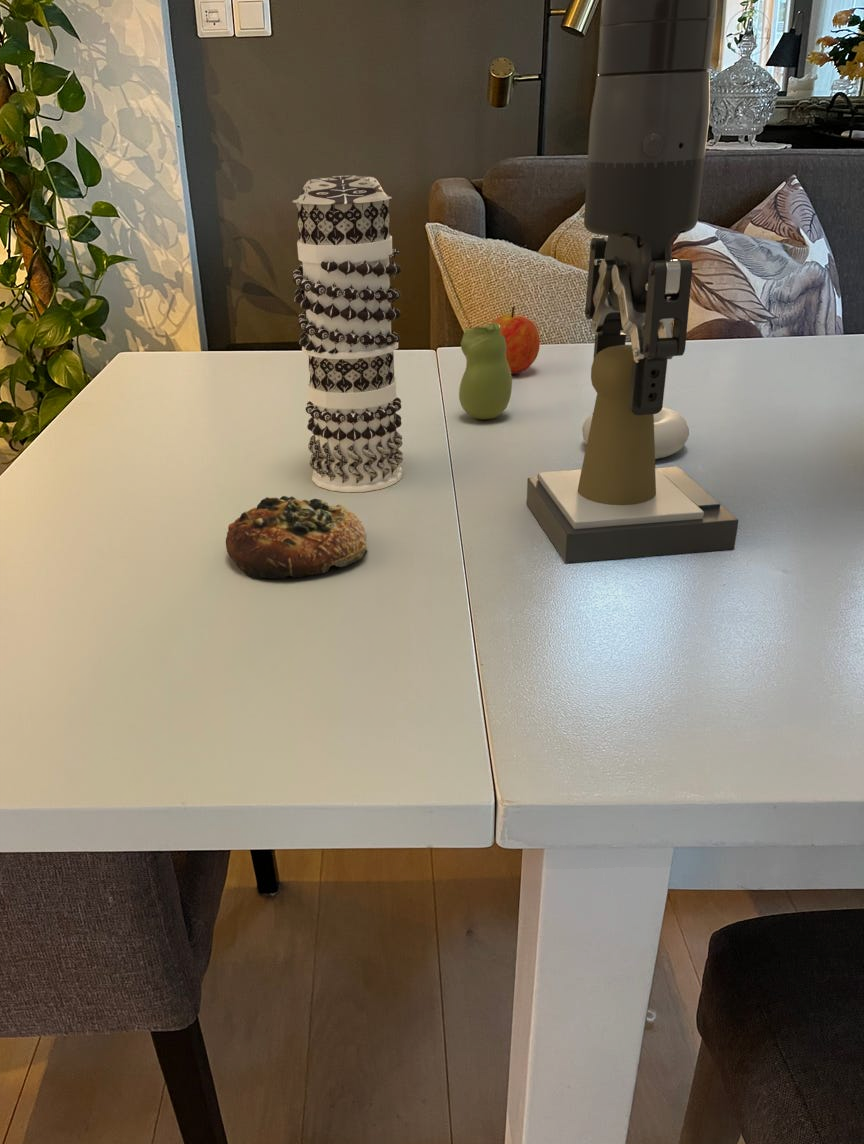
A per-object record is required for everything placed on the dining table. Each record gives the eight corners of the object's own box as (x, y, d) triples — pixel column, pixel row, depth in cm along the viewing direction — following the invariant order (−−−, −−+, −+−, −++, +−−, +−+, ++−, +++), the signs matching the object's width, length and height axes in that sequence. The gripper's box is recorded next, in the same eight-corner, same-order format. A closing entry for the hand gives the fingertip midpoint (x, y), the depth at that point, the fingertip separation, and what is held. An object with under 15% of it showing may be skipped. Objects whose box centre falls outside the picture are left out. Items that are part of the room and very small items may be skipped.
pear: (480, 429, 99) (482, 330, 94) (448, 418, 103) (448, 322, 98) (520, 418, 102) (523, 322, 97) (487, 408, 106) (488, 314, 101)
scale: (674, 492, 82) (678, 459, 80) (734, 549, 71) (740, 512, 70) (526, 504, 81) (527, 470, 79) (565, 563, 70) (567, 526, 69)
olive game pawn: (650, 508, 71) (666, 359, 66) (570, 500, 73) (578, 355, 68) (661, 481, 76) (677, 340, 70) (585, 474, 78) (595, 336, 73)
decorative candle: (426, 468, 89) (421, 173, 77) (369, 500, 83) (354, 183, 70) (347, 453, 94) (331, 172, 82) (288, 483, 87) (260, 182, 75)
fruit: (476, 368, 121) (476, 303, 117) (528, 364, 122) (530, 299, 118) (491, 382, 115) (492, 313, 111) (546, 377, 116) (549, 309, 112)
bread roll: (207, 578, 70) (203, 511, 68) (248, 537, 80) (246, 478, 78) (356, 588, 68) (357, 520, 67) (379, 545, 79) (380, 485, 77)
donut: (587, 431, 98) (574, 461, 89) (589, 397, 96) (576, 425, 88) (688, 436, 95) (685, 468, 87) (692, 402, 93) (689, 431, 85)
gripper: (748, 155, 57) (712, 421, 65) (661, 146, 69) (640, 370, 77) (626, 162, 56) (605, 429, 64) (560, 151, 69) (550, 377, 77)
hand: (624, 397), depth 71 cm, fingers open, 8 cm apart
